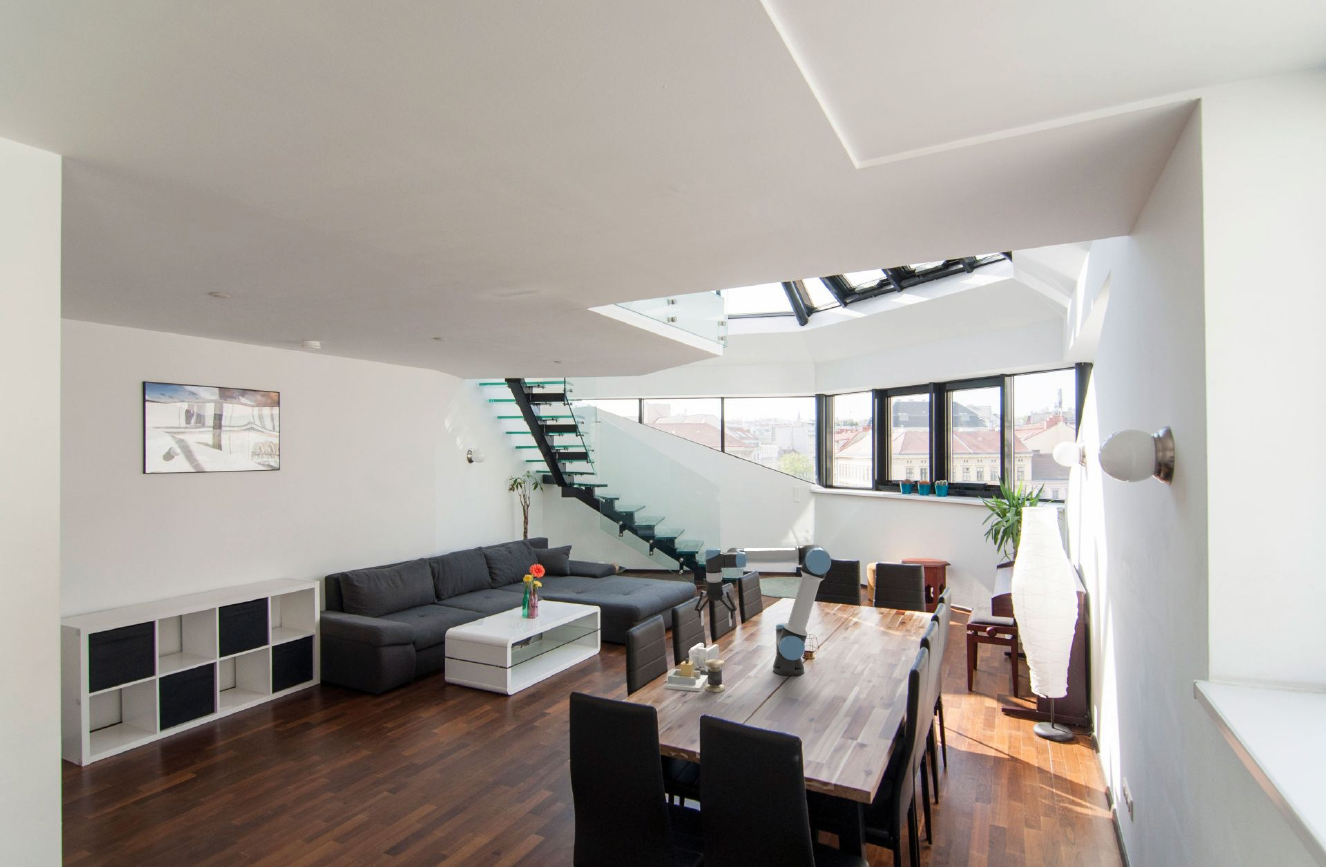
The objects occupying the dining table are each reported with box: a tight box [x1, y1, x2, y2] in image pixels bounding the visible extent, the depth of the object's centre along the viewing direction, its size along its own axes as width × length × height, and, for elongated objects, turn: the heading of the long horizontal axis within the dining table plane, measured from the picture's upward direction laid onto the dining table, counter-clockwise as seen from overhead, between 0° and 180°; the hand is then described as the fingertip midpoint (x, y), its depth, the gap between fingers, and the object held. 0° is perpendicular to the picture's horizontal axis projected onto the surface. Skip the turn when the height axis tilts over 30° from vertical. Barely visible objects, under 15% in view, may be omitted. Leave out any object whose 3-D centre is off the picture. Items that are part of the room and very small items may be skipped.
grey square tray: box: [665, 668, 708, 692], centre depth 314 cm, size 16×18×4 cm
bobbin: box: [704, 659, 726, 693], centre depth 306 cm, size 9×9×12 cm
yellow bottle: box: [680, 657, 694, 677], centre depth 314 cm, size 5×5×10 cm
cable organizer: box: [688, 642, 720, 674], centre depth 334 cm, size 15×11×12 cm
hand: (716, 625), depth 321 cm, fingers open, 13 cm apart
